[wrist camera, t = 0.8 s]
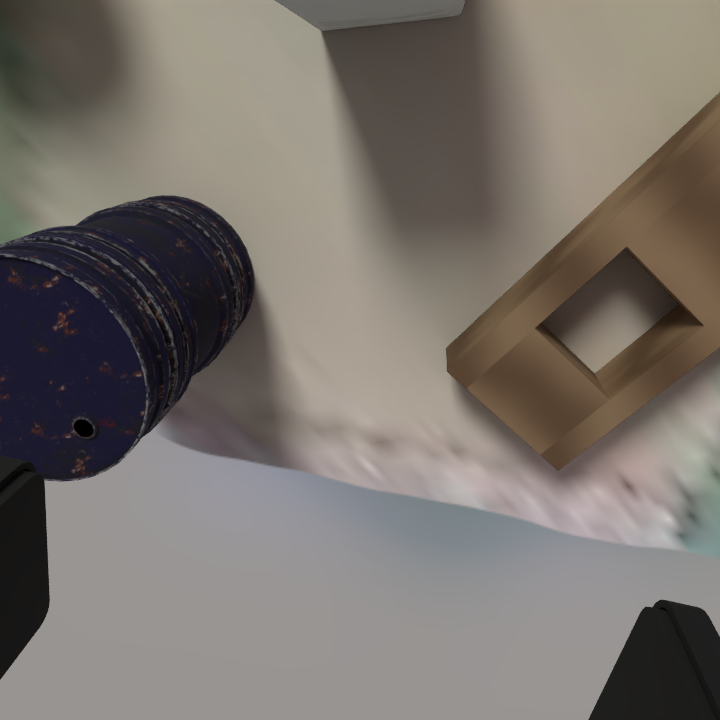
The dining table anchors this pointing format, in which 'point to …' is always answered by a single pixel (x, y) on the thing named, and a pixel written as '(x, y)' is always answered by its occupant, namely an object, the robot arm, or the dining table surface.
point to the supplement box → (370, 11)
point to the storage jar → (112, 328)
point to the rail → (578, 265)
